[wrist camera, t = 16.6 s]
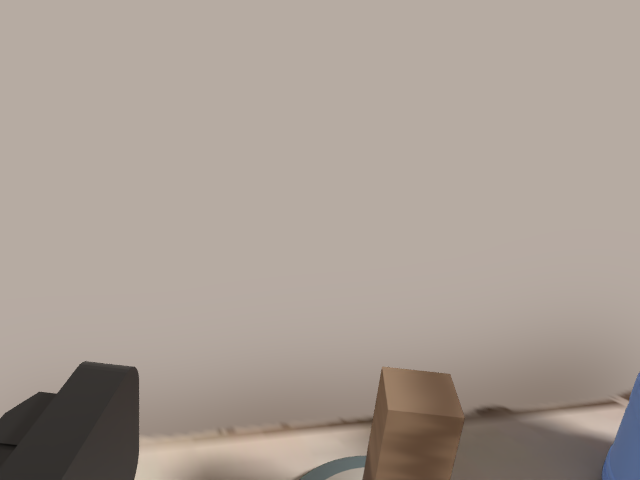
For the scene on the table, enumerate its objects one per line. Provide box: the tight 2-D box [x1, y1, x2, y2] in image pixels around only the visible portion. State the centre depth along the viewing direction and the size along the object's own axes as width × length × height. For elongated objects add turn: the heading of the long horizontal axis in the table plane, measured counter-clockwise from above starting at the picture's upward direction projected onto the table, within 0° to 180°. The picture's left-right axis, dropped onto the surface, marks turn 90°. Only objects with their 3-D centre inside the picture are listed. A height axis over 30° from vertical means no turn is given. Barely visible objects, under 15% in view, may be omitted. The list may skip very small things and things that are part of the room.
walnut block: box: [362, 367, 465, 480], centre depth 38 cm, size 4×4×12 cm
